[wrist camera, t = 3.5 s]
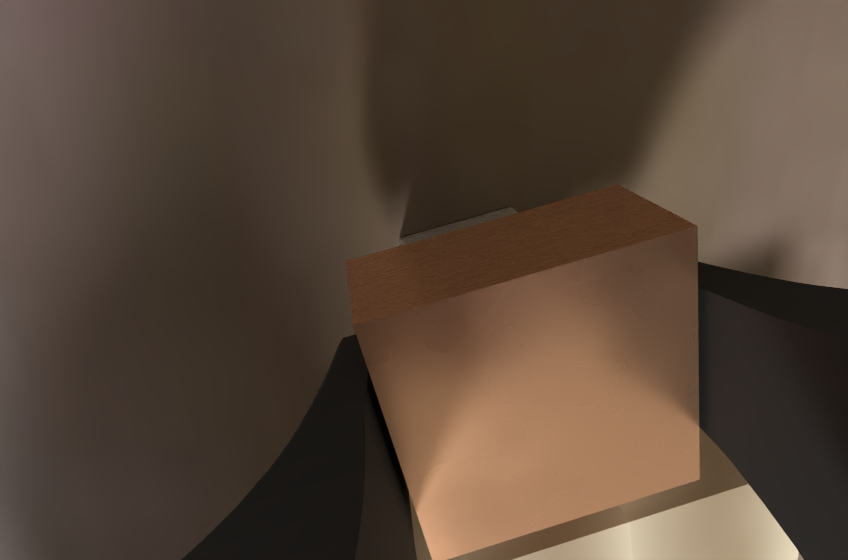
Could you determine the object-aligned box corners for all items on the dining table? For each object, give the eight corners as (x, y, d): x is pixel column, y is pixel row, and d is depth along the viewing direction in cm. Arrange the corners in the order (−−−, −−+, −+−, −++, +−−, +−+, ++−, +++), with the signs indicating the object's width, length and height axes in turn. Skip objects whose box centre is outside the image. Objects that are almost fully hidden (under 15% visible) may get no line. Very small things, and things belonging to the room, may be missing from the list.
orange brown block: (395, 381, 16) (434, 563, 10) (340, 207, 13) (353, 325, 8) (573, 328, 16) (699, 479, 11) (549, 148, 14) (696, 225, 8)
